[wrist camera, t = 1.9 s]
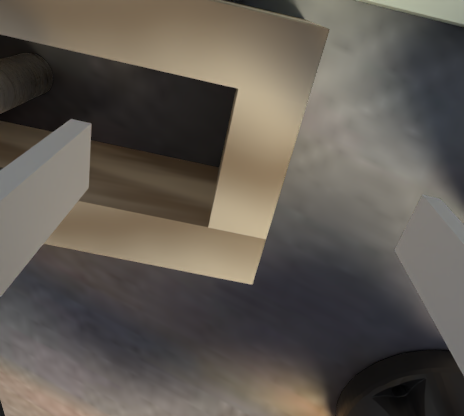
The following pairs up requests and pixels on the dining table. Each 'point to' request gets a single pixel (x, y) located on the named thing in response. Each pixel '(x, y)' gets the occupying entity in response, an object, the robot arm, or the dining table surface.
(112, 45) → the open wooden box
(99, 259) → the dining table surface
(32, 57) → the steel bolt
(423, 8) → the sage tray
